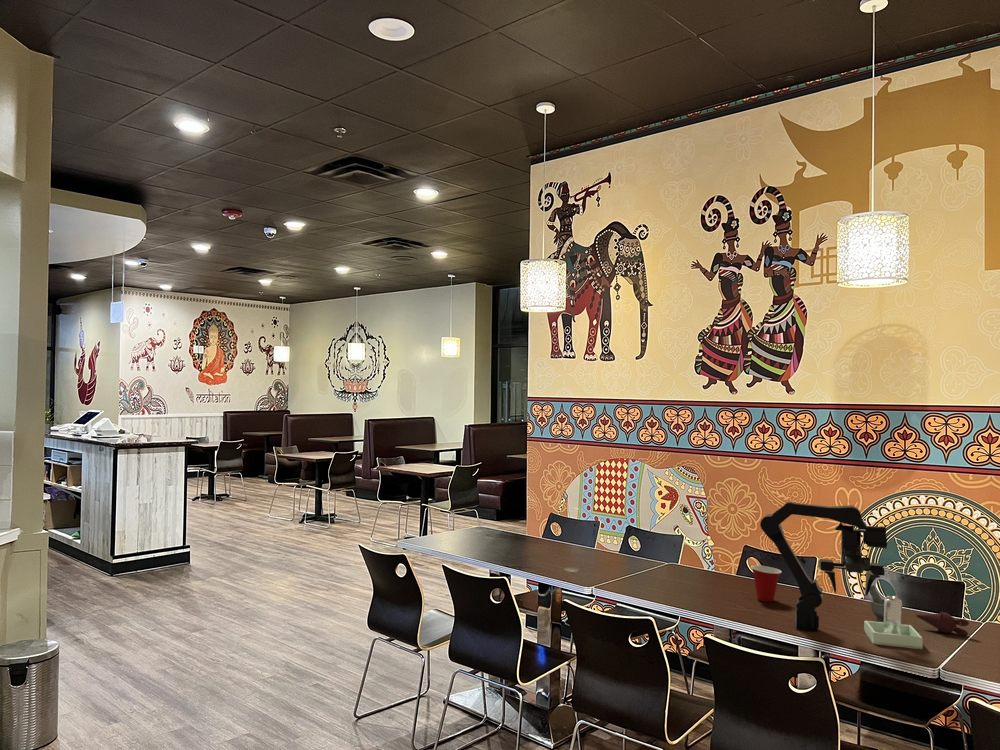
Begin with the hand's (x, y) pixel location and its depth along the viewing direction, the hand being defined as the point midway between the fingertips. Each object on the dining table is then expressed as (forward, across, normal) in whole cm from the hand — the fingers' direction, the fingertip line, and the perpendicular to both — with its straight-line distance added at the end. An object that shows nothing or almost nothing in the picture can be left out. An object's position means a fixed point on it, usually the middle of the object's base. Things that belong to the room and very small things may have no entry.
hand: (850, 593), depth 235 cm
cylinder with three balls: (+12, +12, -1) cm, 17 cm away
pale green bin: (+13, +12, -1) cm, 18 cm away
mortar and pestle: (+13, +14, +20) cm, 28 cm away
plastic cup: (+13, -23, +36) cm, 45 cm away
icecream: (+13, +30, +15) cm, 36 cm away
